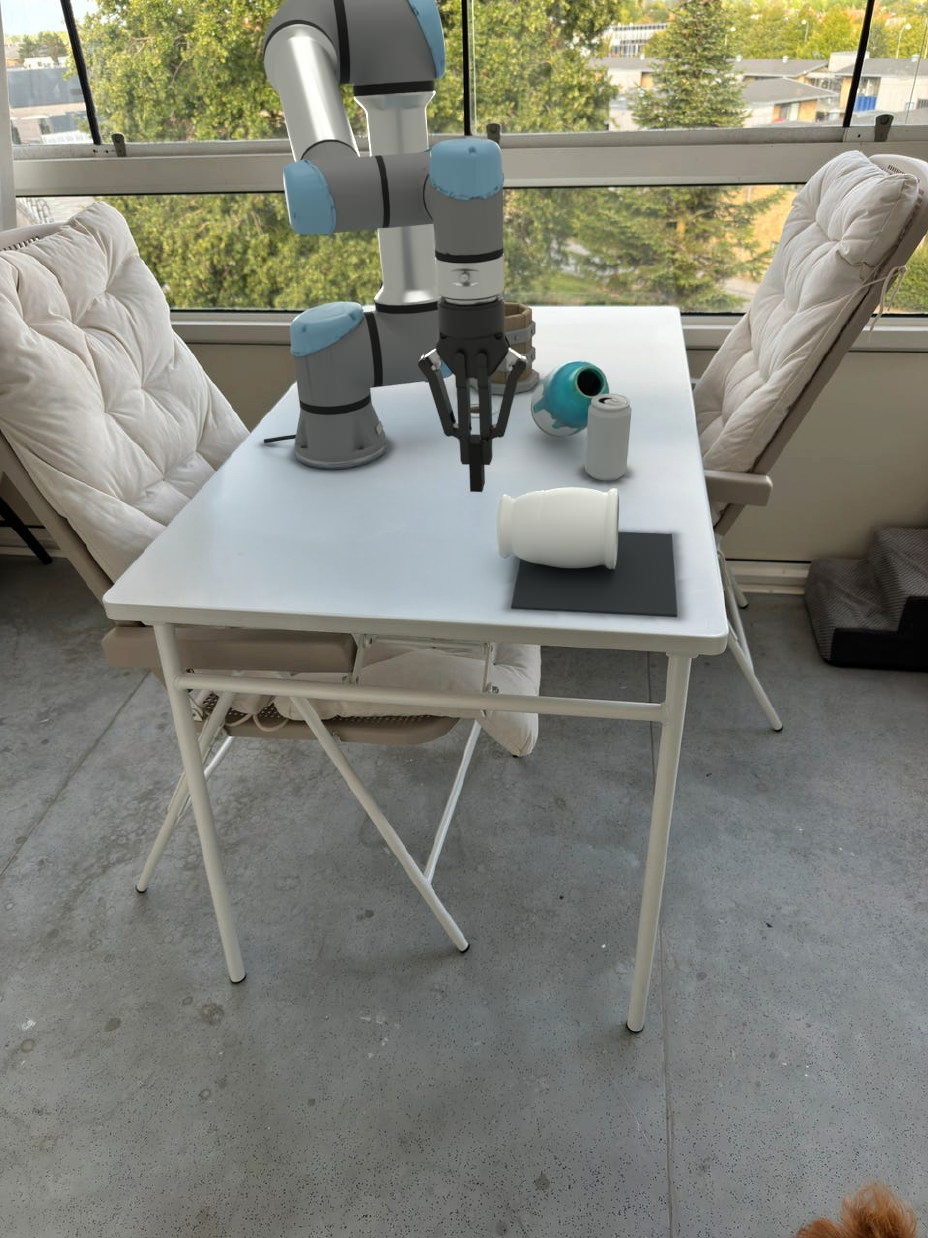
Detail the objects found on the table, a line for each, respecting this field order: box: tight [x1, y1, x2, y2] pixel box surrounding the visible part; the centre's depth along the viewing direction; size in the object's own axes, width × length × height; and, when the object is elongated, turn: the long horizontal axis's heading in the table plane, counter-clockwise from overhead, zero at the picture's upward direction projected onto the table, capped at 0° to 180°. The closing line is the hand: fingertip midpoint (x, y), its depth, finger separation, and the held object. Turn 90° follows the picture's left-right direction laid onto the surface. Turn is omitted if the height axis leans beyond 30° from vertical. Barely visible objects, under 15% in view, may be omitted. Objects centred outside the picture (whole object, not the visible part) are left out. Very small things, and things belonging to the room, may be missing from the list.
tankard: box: [470, 301, 540, 396], centre depth 177 cm, size 20×13×15 cm, turn 69°
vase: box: [530, 359, 610, 438], centre depth 149 cm, size 11×11×19 cm
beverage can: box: [584, 393, 633, 481], centre depth 141 cm, size 6×6×12 cm
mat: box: [510, 531, 678, 617], centre depth 121 cm, size 20×20×1 cm
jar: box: [496, 486, 620, 569], centre depth 120 cm, size 11×10×15 cm
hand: (477, 486), depth 117 cm, fingers closed
